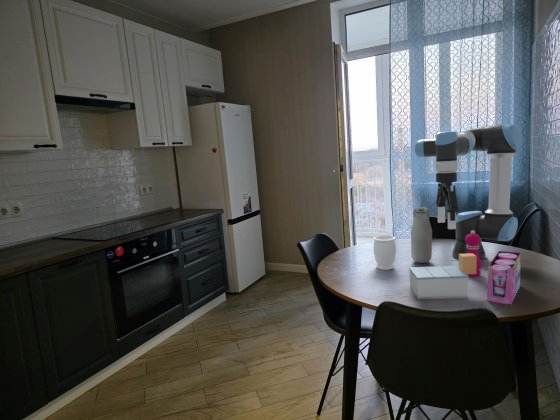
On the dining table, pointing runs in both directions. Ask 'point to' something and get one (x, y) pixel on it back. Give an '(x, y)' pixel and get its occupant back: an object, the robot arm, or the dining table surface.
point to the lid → (448, 269)
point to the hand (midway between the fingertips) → (446, 225)
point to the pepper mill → (474, 250)
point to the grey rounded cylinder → (421, 236)
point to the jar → (384, 252)
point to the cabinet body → (439, 288)
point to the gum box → (504, 277)
